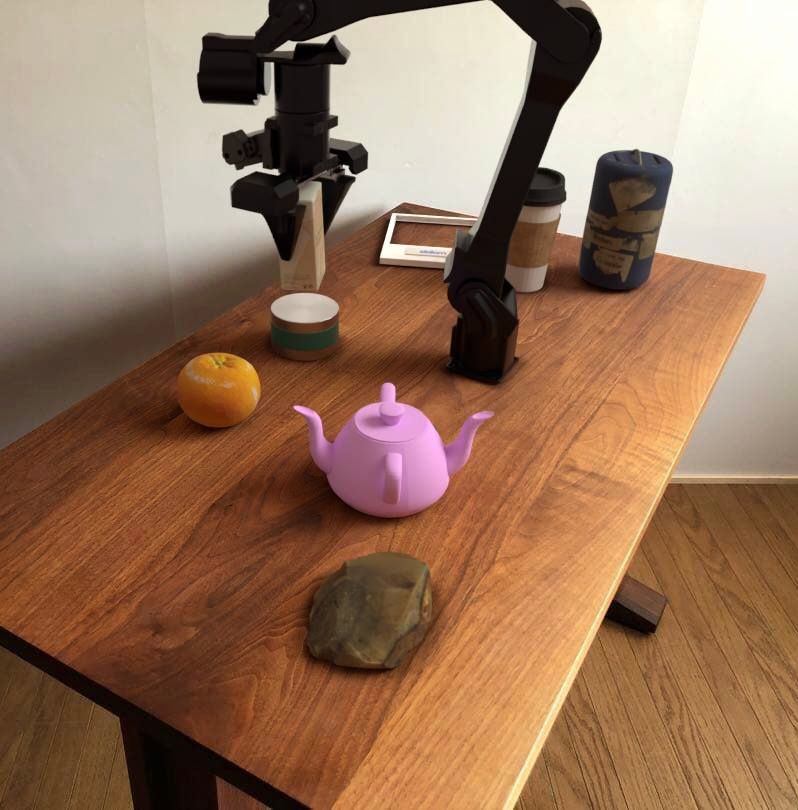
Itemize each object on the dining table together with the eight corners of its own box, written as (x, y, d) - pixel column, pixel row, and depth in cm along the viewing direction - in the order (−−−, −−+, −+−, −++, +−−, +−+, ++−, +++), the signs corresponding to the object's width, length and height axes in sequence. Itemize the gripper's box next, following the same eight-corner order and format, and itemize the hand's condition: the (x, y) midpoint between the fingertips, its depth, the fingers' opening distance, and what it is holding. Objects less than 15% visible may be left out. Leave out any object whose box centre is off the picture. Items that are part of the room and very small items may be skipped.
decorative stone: (415, 688, 66) (419, 655, 64) (292, 660, 69) (292, 627, 67) (437, 590, 75) (441, 558, 73) (327, 568, 77) (328, 536, 75)
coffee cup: (561, 279, 126) (578, 172, 118) (539, 302, 120) (556, 191, 112) (503, 266, 130) (516, 161, 122) (479, 287, 124) (492, 179, 116)
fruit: (287, 385, 95) (241, 329, 92) (242, 445, 91) (192, 389, 88) (241, 389, 102) (196, 337, 98) (197, 446, 98) (148, 393, 94)
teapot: (292, 483, 87) (292, 404, 82) (398, 432, 94) (403, 357, 89) (378, 548, 79) (383, 465, 74) (485, 487, 86) (496, 408, 81)
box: (317, 293, 102) (312, 202, 95) (280, 290, 102) (272, 200, 95) (326, 268, 106) (322, 180, 99) (290, 266, 106) (283, 178, 99)
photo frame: (379, 256, 129) (392, 212, 144) (379, 263, 130) (392, 218, 145) (484, 264, 127) (486, 218, 142) (483, 271, 128) (485, 225, 143)
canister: (571, 287, 123) (594, 156, 114) (580, 261, 131) (602, 136, 121) (645, 299, 120) (675, 165, 111) (650, 272, 128) (679, 144, 118)
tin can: (350, 340, 111) (352, 303, 108) (314, 368, 105) (315, 329, 102) (295, 323, 115) (295, 287, 112) (257, 349, 109) (256, 311, 106)
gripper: (286, 79, 104) (288, 211, 112) (183, 116, 90) (193, 263, 99) (372, 92, 98) (367, 229, 107) (276, 133, 85) (279, 286, 94)
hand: (302, 250), depth 102 cm, fingers closed on box, 6 cm apart
